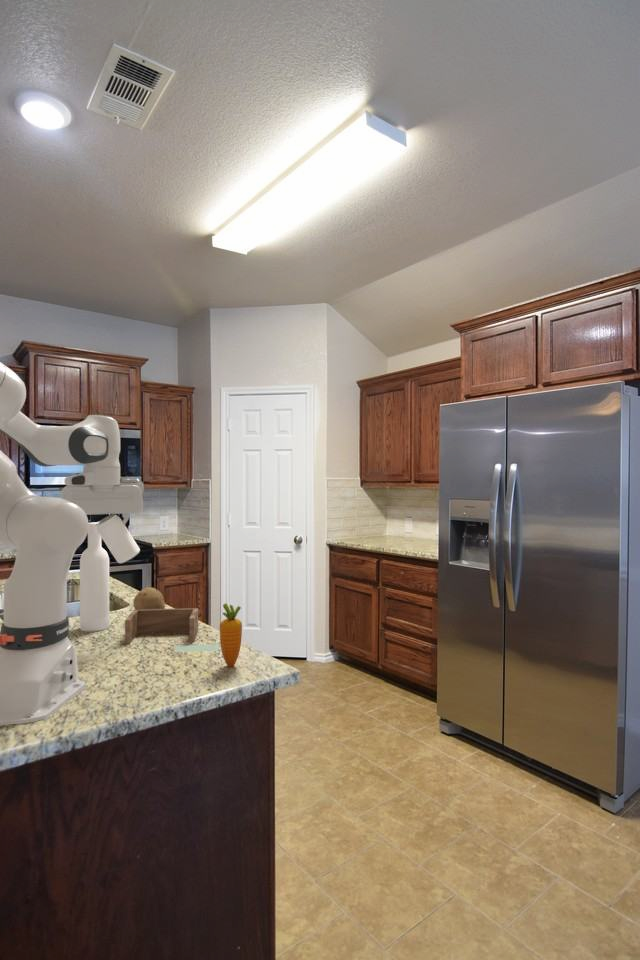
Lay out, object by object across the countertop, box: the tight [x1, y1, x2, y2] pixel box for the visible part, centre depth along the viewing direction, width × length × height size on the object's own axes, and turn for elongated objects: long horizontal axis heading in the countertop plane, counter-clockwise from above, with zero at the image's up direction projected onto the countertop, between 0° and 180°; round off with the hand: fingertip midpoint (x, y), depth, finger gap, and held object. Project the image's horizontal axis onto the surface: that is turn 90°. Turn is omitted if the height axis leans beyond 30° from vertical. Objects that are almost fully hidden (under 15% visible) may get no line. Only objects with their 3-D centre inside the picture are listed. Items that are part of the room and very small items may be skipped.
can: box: [96, 514, 141, 564], centre depth 140 cm, size 6×6×12 cm
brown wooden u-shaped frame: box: [124, 607, 199, 645], centre depth 143 cm, size 10×17×6 cm, turn 97°
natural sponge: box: [132, 586, 166, 610], centre depth 160 cm, size 9×9×10 cm
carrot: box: [219, 603, 243, 668], centre depth 121 cm, size 5×5×15 cm
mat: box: [173, 643, 221, 653], centre depth 131 cm, size 11×11×1 cm
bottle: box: [79, 521, 111, 633], centre depth 152 cm, size 8×8×30 cm
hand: (102, 531), depth 138 cm, fingers open, 8 cm apart
